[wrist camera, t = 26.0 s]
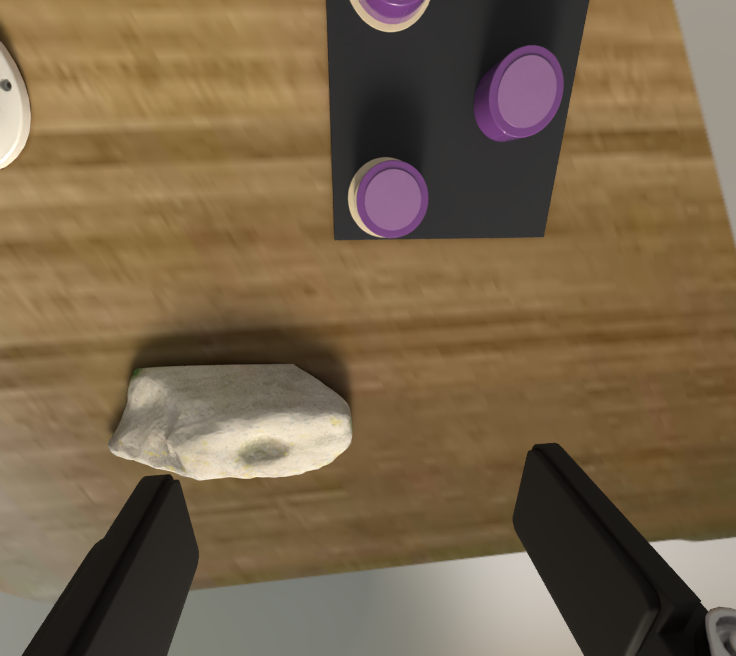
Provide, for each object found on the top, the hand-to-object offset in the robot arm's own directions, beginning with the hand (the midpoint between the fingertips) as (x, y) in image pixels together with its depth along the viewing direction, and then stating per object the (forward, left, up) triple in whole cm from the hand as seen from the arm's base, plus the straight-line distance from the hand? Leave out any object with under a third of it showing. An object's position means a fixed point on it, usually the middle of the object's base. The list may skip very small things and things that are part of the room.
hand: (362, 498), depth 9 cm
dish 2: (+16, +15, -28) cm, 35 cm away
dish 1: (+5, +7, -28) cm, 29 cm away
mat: (+11, +15, -28) cm, 34 cm away
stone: (-12, -17, -28) cm, 35 cm away
